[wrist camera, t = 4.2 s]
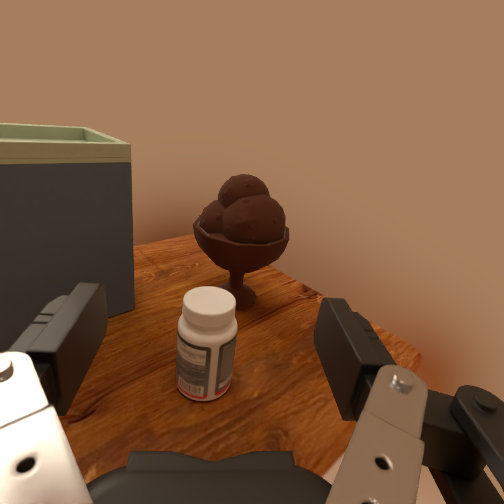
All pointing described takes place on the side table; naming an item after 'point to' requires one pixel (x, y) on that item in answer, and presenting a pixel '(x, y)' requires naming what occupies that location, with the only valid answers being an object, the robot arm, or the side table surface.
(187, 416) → the side table surface
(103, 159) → the tray
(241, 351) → the side table surface
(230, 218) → the ice cream bowl
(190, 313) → the pill bottle
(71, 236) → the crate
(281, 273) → the side table surface
